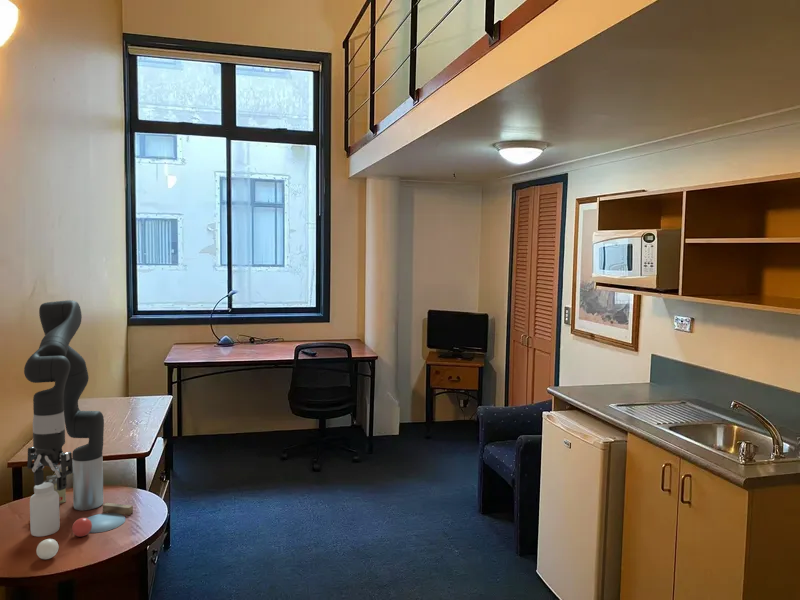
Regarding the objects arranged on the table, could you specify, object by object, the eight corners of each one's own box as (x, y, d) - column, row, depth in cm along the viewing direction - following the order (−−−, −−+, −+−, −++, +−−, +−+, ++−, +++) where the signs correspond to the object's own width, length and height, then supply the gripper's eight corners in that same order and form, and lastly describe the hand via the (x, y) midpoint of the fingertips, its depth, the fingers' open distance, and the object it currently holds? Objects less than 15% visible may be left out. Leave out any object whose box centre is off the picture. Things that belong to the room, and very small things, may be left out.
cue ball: (35, 557, 172) (34, 538, 171) (56, 551, 175) (56, 533, 175) (38, 565, 167) (37, 546, 167) (60, 559, 171) (60, 540, 170)
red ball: (70, 534, 185) (70, 517, 185) (89, 529, 189) (89, 513, 188) (74, 541, 181) (73, 524, 181) (94, 536, 185) (93, 519, 184)
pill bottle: (26, 538, 182) (25, 491, 181) (35, 526, 190) (34, 481, 189) (55, 535, 184) (54, 489, 183) (63, 524, 192) (61, 479, 191)
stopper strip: (102, 512, 202) (102, 505, 201) (106, 509, 204) (106, 502, 203) (129, 515, 200) (129, 508, 200) (132, 512, 202) (132, 505, 201)
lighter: (43, 507, 204) (42, 479, 204) (42, 503, 207) (41, 475, 207) (66, 502, 209) (66, 474, 208) (65, 498, 212) (64, 471, 211)
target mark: (73, 520, 195) (73, 520, 195) (119, 509, 204) (119, 509, 204) (82, 537, 184) (82, 536, 184) (130, 524, 193) (130, 524, 193)
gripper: (17, 429, 161) (18, 487, 162) (55, 436, 155) (56, 496, 157) (43, 422, 168) (44, 478, 169) (80, 428, 162) (81, 486, 164)
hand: (50, 486), depth 163 cm, fingers open, 8 cm apart
